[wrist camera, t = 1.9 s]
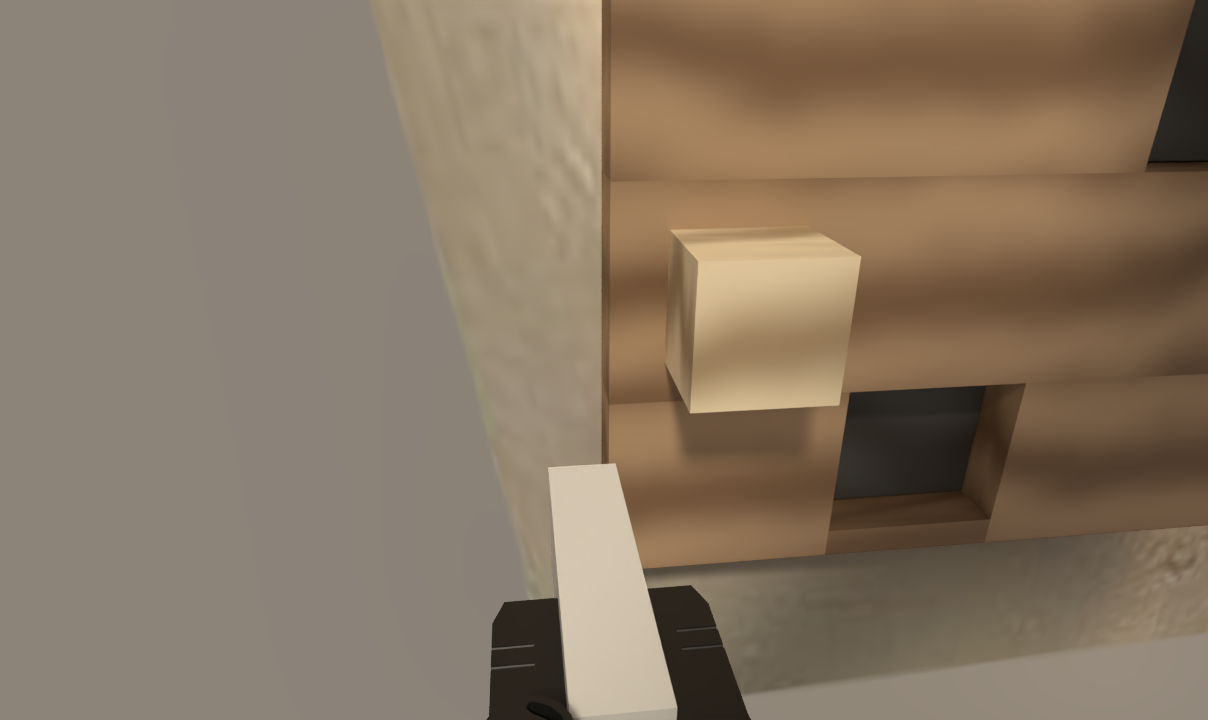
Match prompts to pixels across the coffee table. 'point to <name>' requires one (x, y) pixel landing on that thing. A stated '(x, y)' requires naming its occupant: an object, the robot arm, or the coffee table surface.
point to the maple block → (758, 317)
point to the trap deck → (918, 267)
